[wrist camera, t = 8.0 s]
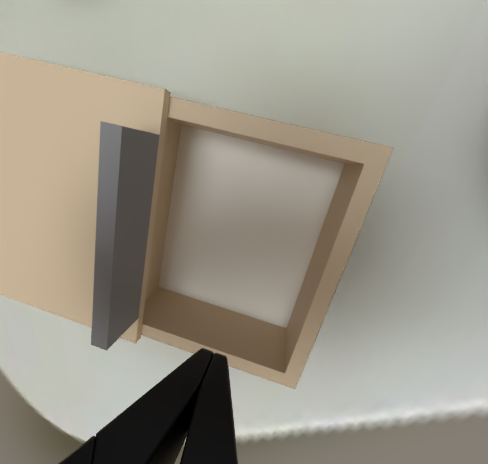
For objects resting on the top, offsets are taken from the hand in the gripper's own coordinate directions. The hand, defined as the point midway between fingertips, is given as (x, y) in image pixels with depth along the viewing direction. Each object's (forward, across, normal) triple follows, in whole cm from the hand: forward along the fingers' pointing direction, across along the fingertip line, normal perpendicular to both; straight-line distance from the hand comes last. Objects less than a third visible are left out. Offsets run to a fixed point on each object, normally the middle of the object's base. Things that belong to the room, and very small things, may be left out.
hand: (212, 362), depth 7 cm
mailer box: (+12, +2, 0) cm, 13 cm away
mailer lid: (+8, +14, 0) cm, 16 cm away
